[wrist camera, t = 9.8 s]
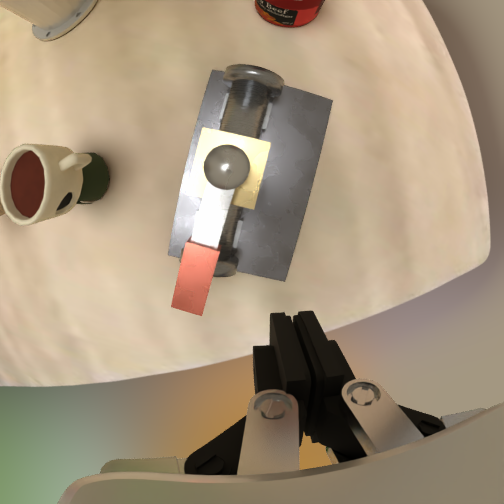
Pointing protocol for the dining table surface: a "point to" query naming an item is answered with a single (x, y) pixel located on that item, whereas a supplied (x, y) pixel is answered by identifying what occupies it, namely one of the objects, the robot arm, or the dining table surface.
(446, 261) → the dining table surface
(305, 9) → the canned food
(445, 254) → the dining table surface
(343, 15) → the dining table surface
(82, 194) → the character mug
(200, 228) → the lever
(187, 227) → the valve
